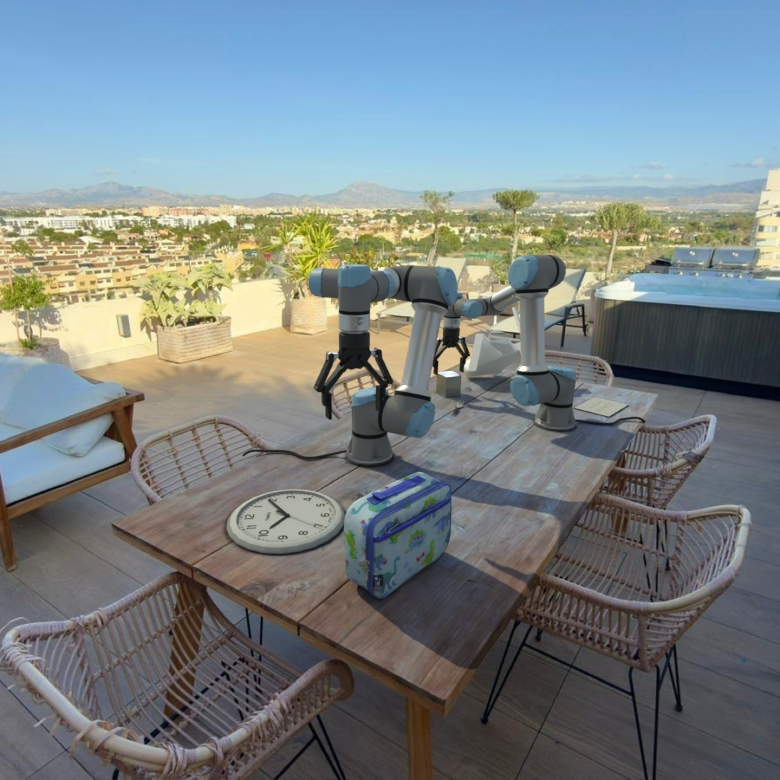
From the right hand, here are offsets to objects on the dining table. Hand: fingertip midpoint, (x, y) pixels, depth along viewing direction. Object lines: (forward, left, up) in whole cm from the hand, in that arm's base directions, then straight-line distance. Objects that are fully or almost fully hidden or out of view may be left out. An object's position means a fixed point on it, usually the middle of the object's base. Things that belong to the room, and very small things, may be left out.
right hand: (448, 373), depth 238 cm
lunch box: (+9, +133, -10) cm, 134 cm away
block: (0, 0, -10) cm, 10 cm away
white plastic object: (-25, -20, -10) cm, 34 cm away
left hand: (+23, +109, +18) cm, 113 cm away
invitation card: (-66, +8, -10) cm, 68 cm away
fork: (-4, +23, -10) cm, 25 cm away
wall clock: (+40, +116, -10) cm, 123 cm away
